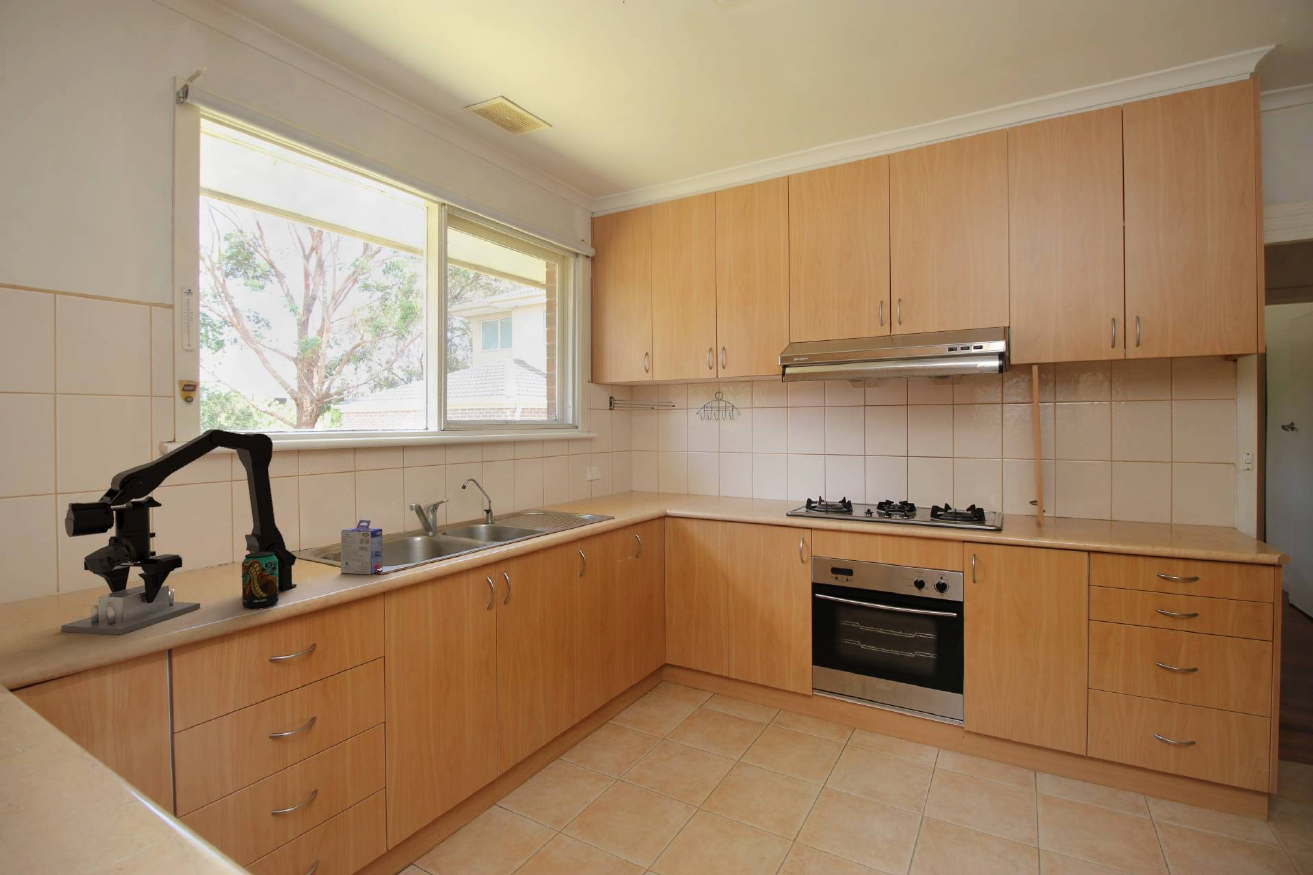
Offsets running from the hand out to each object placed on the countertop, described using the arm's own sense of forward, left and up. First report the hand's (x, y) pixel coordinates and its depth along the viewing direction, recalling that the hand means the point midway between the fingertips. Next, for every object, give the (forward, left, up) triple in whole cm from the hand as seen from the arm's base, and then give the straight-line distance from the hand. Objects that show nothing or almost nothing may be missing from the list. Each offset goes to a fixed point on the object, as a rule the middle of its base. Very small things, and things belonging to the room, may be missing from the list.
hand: (134, 602), depth 133 cm
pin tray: (0, 0, -4) cm, 4 cm away
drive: (0, 0, -2) cm, 3 cm away
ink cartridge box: (-22, -46, -4) cm, 51 cm away
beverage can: (-19, -13, -4) cm, 23 cm away
